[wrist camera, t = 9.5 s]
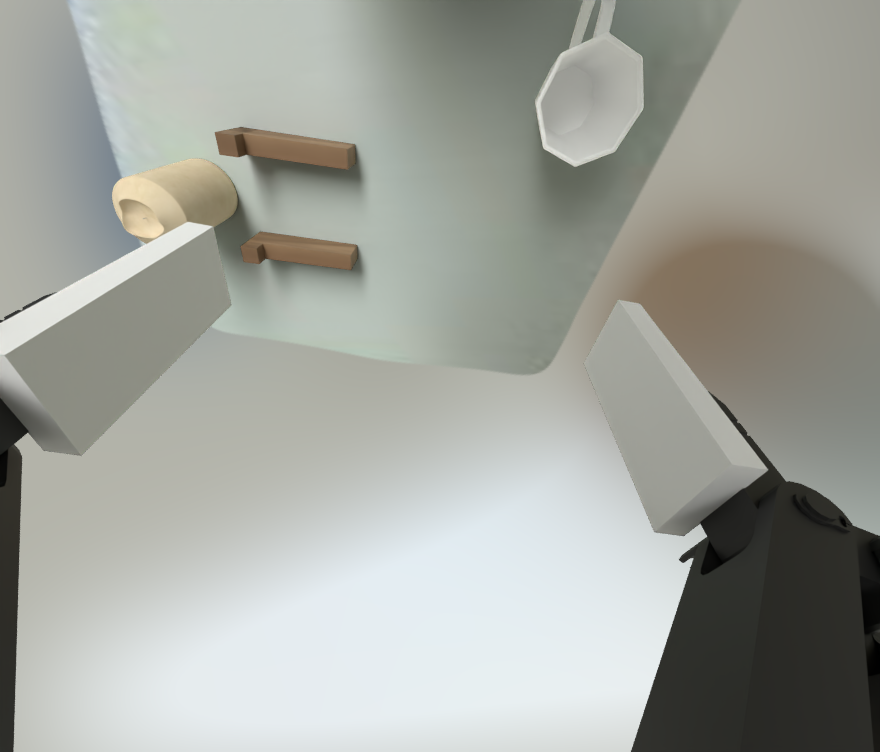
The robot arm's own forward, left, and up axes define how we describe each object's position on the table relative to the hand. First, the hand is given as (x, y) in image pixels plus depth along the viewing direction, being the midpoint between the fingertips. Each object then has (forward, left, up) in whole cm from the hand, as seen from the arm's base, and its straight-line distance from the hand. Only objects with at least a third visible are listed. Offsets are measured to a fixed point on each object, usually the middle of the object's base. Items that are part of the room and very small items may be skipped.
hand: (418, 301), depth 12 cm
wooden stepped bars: (+5, -13, -27) cm, 30 cm away
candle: (+5, -22, -27) cm, 35 cm away
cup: (-7, +9, -27) cm, 29 cm away
